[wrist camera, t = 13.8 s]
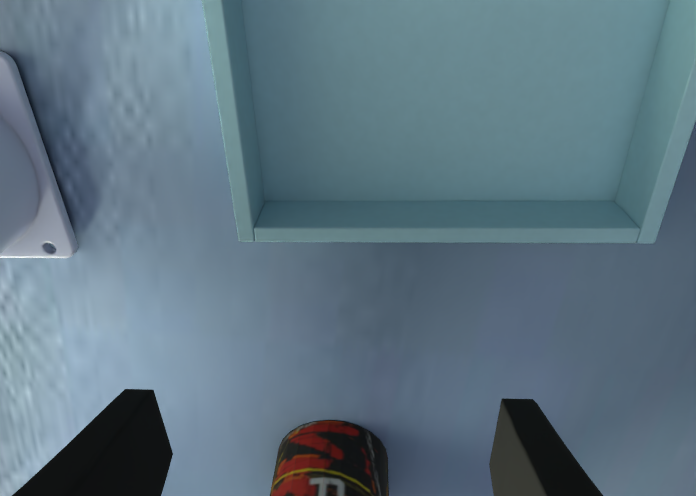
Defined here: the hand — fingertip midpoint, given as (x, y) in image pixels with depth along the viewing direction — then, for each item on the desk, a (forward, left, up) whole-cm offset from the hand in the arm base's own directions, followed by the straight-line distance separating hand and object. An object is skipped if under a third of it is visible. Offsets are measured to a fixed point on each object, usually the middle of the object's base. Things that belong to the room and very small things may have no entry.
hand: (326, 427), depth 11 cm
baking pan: (+3, +7, -10) cm, 13 cm away
